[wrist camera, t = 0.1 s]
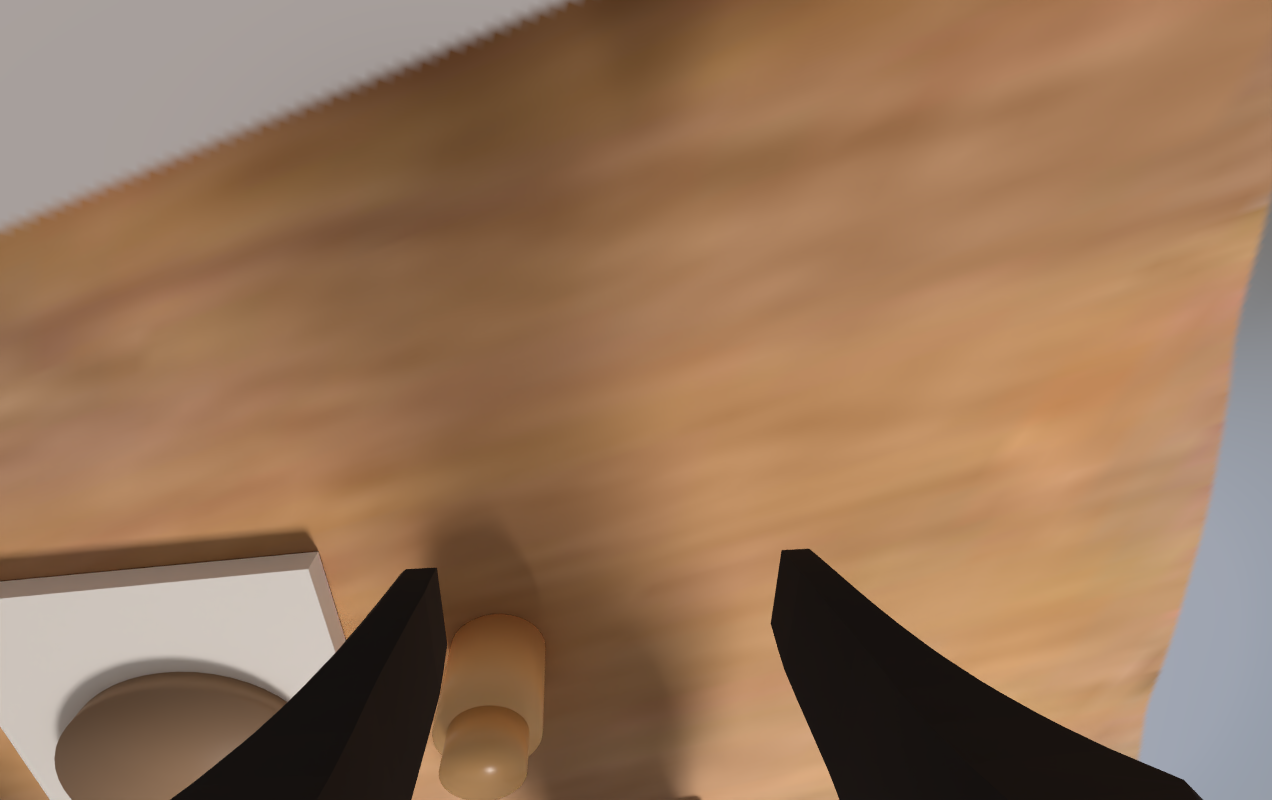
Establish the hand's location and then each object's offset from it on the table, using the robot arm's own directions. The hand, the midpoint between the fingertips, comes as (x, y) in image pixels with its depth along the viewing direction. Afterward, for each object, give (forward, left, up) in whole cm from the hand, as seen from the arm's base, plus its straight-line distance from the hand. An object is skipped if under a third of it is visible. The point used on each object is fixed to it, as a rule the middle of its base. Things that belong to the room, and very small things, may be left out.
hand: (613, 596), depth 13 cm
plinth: (-14, +17, -10) cm, 25 cm away
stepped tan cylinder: (-11, +5, -10) cm, 16 cm away
